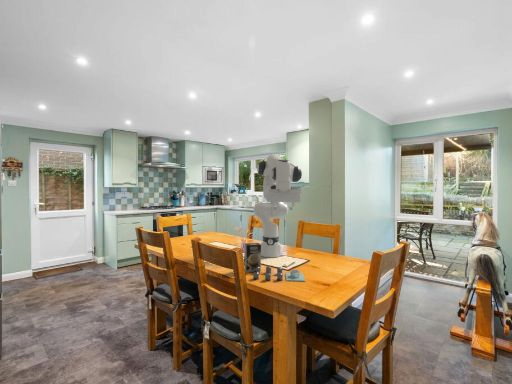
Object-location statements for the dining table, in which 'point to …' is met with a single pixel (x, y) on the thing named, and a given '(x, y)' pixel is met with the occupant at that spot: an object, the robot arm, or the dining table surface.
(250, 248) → the coffee box
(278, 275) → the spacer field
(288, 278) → the board
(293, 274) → the grey hexagonal block
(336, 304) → the dining table surface
